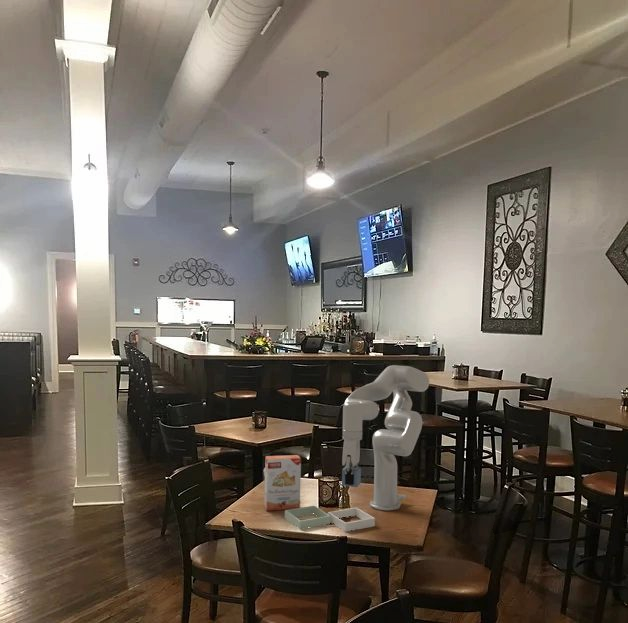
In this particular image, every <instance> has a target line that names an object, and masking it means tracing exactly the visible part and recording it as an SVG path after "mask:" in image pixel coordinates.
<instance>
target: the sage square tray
mask: <svg viewBox="0 0 628 623" xmlns="http://www.w3.org/2000/svg"><path fill="white" fill-rule="evenodd" d="M313 513H314V514H313ZM306 514H310V515H315V516H316V515H317V517H314V518H308V519H303V520H300V518H298V517H303V516H302V515H304V516H307V515H306ZM296 516H298V517H296ZM285 518H286V519H285ZM284 519H285V520H287V521H288V522H289V521H290V522H289V523H290V524H292V525H293V524H294V525H295V527H296V528H297V527H298V528H299V529H298V528H297V529H298V530H300V529H301V530H304V529H303V528H306V529H309V528H308V527H311V528H316V527H315V526H317V527H321V525H322V526H327V525H326V524H328V525H331V524H332V523H331V516H330V515H328V512H327V513H326V511H324V510H322V509H320V508H319V507H318V506H316V505H309V506H303V507H300V508H296V509H285V510H284ZM330 523H331V524H330ZM294 525H293V526H294Z"/></svg>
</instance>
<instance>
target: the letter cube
mask: <svg viewBox="0 0 628 623" xmlns="http://www.w3.org/2000/svg"><path fill="white" fill-rule="evenodd" d="M351 469H352V468H351ZM345 471H346V465H344V467H343V468H342V469H341V486H342V487H350V488H351V487H353V488H358V487H359V486H360V485H361V484H362V466H361V467H360V466H358V467H354V469H353V474H354V484H353V485H346V484H345Z"/></svg>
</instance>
